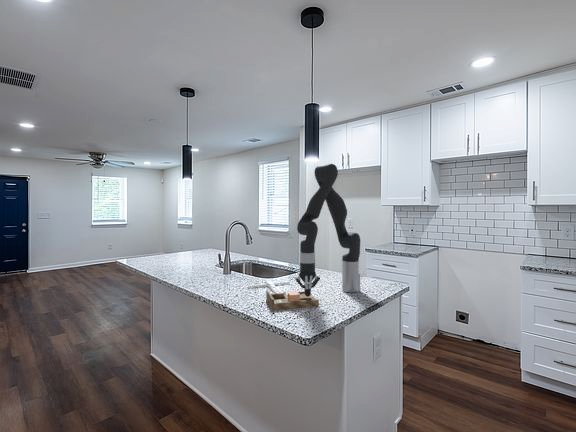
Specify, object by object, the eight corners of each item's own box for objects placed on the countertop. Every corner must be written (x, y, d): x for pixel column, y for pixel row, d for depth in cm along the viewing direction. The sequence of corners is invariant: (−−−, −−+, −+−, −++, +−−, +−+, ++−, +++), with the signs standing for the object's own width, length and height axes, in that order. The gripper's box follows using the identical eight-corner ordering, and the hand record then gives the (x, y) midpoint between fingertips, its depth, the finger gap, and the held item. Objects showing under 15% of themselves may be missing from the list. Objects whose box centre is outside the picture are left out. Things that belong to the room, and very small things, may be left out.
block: (297, 299, 151) (297, 291, 151) (300, 302, 146) (300, 294, 146) (287, 300, 150) (287, 292, 150) (290, 303, 145) (289, 295, 145)
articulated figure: (258, 294, 158) (244, 279, 186) (258, 302, 158) (244, 285, 186) (305, 289, 168) (286, 275, 196) (305, 296, 168) (286, 281, 196)
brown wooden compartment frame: (308, 296, 163) (308, 287, 163) (318, 305, 148) (318, 295, 148) (266, 300, 158) (266, 290, 158) (272, 310, 142) (272, 299, 142)
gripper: (317, 259, 156) (317, 293, 156) (292, 260, 152) (292, 295, 153) (322, 262, 148) (322, 297, 149) (296, 263, 145) (296, 299, 146)
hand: (307, 296), depth 151 cm, fingers closed
